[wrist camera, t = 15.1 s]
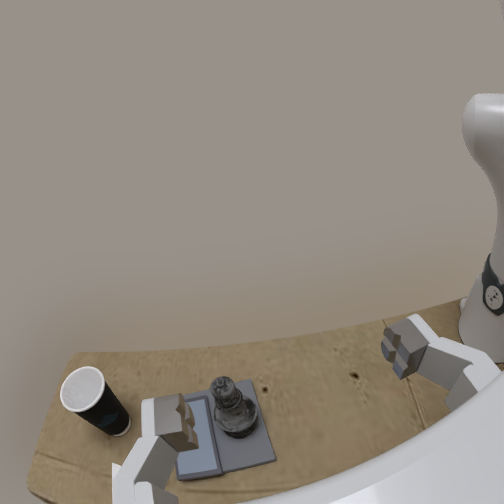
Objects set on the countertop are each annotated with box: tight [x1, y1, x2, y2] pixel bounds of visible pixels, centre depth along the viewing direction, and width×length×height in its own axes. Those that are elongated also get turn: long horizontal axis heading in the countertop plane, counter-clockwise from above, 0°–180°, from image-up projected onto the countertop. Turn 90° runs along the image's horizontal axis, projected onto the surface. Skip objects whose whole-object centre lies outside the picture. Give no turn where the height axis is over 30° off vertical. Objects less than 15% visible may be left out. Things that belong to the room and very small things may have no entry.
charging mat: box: [182, 379, 276, 473], centre depth 36 cm, size 13×14×1 cm
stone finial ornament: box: [210, 376, 259, 439], centre depth 33 cm, size 6×6×12 cm
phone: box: [175, 395, 223, 481], centre depth 34 cm, size 6×13×1 cm, turn 14°
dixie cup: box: [60, 367, 131, 436], centre depth 35 cm, size 8×8×11 cm
